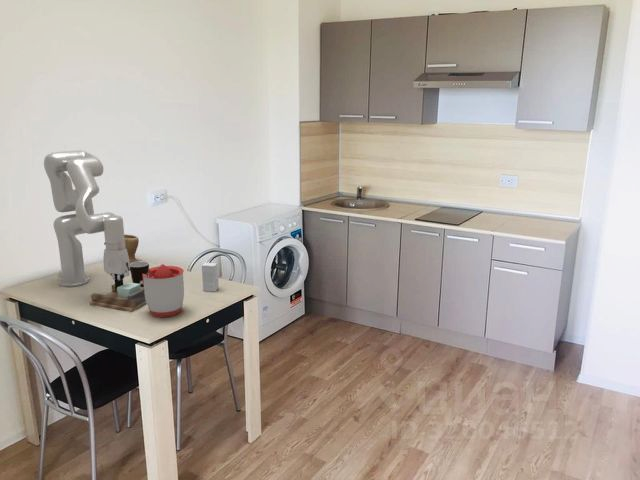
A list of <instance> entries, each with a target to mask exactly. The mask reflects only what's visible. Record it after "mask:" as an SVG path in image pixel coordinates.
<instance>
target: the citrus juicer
mask: <svg viewBox="0 0 640 480" xmlns="http://www.w3.org/2000/svg"><path fill="white" fill-rule="evenodd" d="M148 272H149V276H147V275H146V274H142V277H143V281H141V282H140V284H143V286H144V287H143V288H144V293H145V299H146V303H147V304H146V306H147V309H148V311H149V313H150V314H151V316H155V317H163V318H164V317H173V316H174V315H177V314H179V313H180V312H181V310H182V308H183V305H184V304H183V303H184V298H185V286H184V285H185V284H184V269H183V268H182V267H179V266H176V265H175V266H174V265H165V264H161V265H158V266H154V267H149V269H148Z"/></svg>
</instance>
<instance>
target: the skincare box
mask: <svg viewBox="0 0 640 480" xmlns="http://www.w3.org/2000/svg"><path fill="white" fill-rule="evenodd" d="M218 270H219V269H218V263H217V262H216V263H215V262H204V263H203V264H202V265H201V275H202V277H201V278H202V291H203V292H217V291H218V290H219V289H220V287H219V271H218Z"/></svg>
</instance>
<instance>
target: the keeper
mask: <svg viewBox="0 0 640 480" xmlns="http://www.w3.org/2000/svg"><path fill="white" fill-rule="evenodd" d="M141 288H142V287H140V284H137V283H133V282H129V281H128V282H127V283H123V285H121V286H119V287H117V293H118V297H121V298H127V299H128V295H130V294H132V293H134V292H136V291H138V290H140V289H141Z"/></svg>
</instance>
